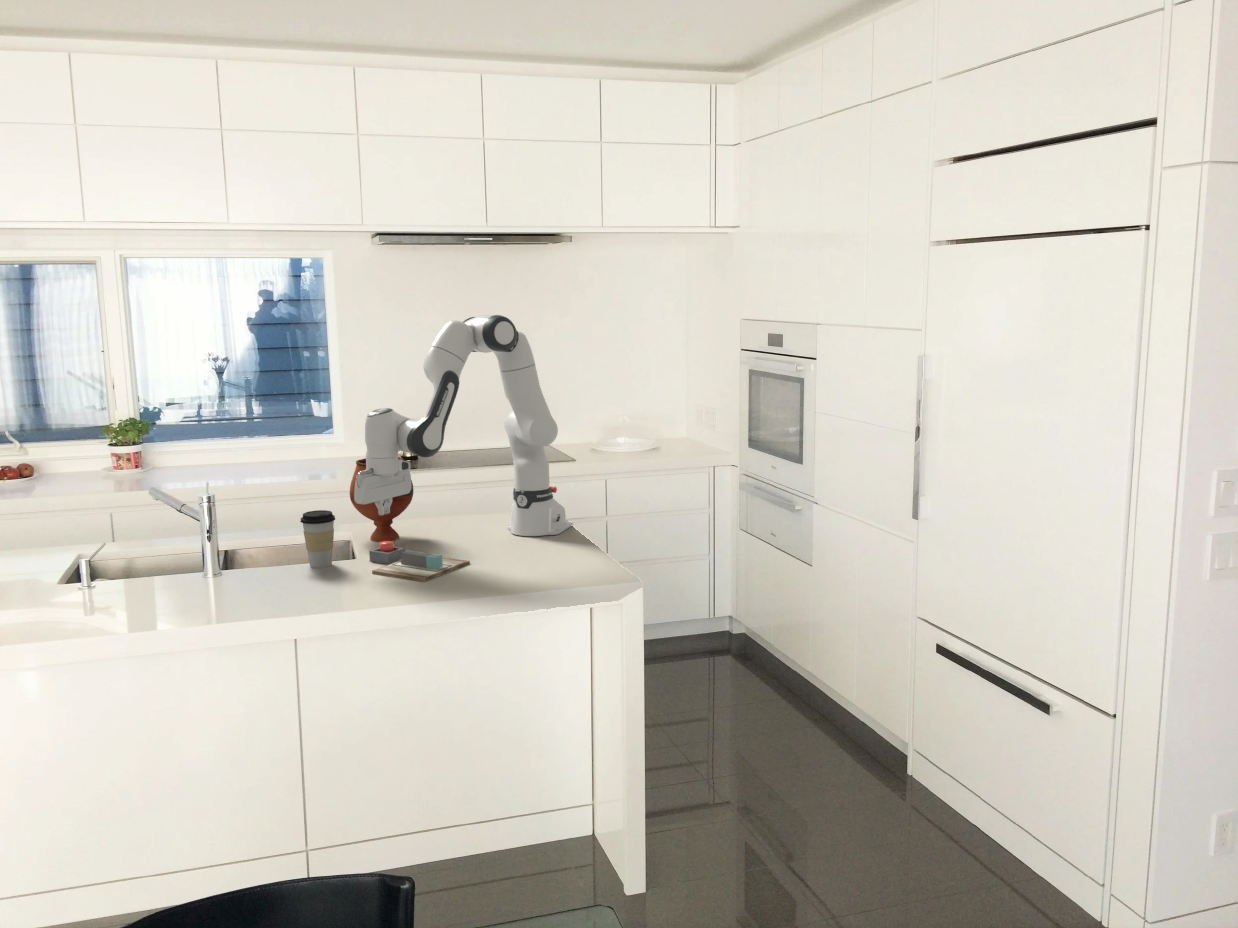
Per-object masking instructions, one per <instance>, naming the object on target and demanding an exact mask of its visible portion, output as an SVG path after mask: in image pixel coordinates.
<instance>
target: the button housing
mask: <svg viewBox="0 0 1238 928" xmlns="http://www.w3.org/2000/svg"><path fill="white" fill-rule="evenodd" d="M405 551H406V550H405V547H400V546H394V551H391V552H388V553H387V552H380V547H377V548H374V549H371V550H369V551H368V553H369V554H368V555H369V562H372V563H373V562H374V563H379V564H386V565H389V564H392V563H395V562H398V561H400V560H401V553H402V552H405Z"/></svg>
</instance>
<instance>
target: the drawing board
mask: <svg viewBox="0 0 1238 928" xmlns="http://www.w3.org/2000/svg"><path fill="white" fill-rule="evenodd" d="M442 563H443V567H440V568H437V569H430V568H424V567H417V566H410V565H404V564H401V560H399V561H396V562H393V563H390V564H386V565H384V566H382V567H379V568H375V569H373V570H371V572H372V574H373V575H381V576H385V575H386V577H391V576H393V578H398V579H406V580H411V581H416V580H417V582H422V581H423V583H425V582H428V581H430V580H432V579H435V578H437V577H440V576H443V575H444V574H447V572H448V573H450V572H452V570H453V571H455V570H458V569H460V568H462V567H465V566H467V565H470V564H471V560H466V559H459V558H452V557H446V556H442ZM457 568H458V569H457ZM442 574H443V575H442Z"/></svg>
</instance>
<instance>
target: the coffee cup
mask: <svg viewBox="0 0 1238 928" xmlns="http://www.w3.org/2000/svg"><path fill="white" fill-rule="evenodd" d="M335 520H336V517H335V515H334V514H333V512H332V510H321V509H319V510H310V511H306V512H303V513H302V517H301V518H300V523H301V524H302V527H303V536H304V543H305V548H306V551H307V556H308V561H309V566H310V568H315V569H321V568H322V569H323V568H328V567H331V566H332V564H333V549H334V539H335V537H334V535H335V527H334V526H335V525H334V523H335V522H334V521H335Z"/></svg>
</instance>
